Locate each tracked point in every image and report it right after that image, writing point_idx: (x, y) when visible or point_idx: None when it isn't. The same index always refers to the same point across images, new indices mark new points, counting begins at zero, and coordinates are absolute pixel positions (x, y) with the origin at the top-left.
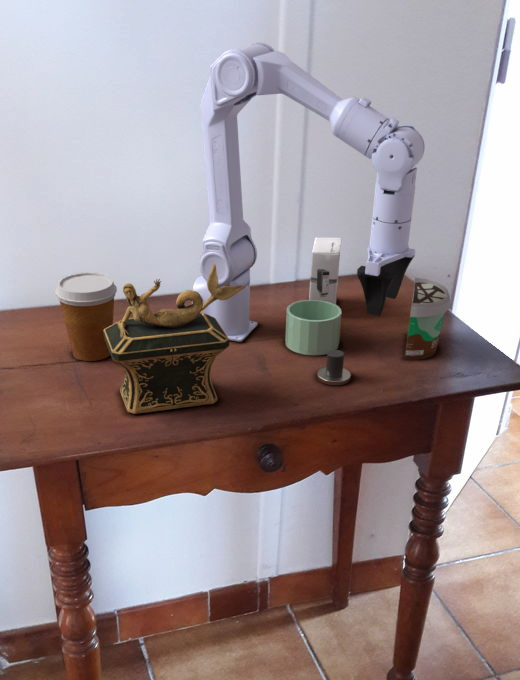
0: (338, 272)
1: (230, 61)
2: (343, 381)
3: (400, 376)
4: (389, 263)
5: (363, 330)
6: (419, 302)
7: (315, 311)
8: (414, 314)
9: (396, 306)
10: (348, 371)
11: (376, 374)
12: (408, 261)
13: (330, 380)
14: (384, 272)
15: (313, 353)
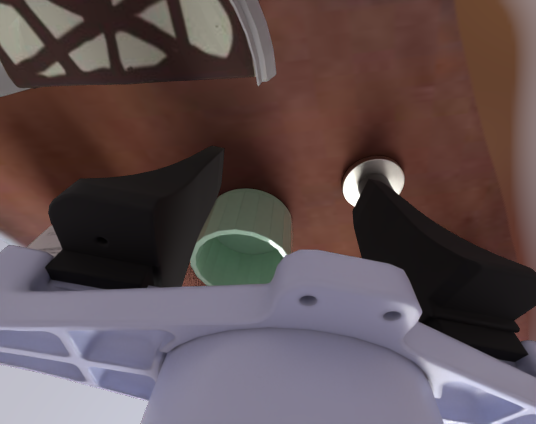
0: (38, 247)
1: None
2: (400, 167)
3: (353, 51)
4: (181, 256)
5: (159, 155)
6: (191, 51)
7: (202, 252)
8: (270, 59)
9: (2, 103)
10: (362, 164)
11: (349, 108)
12: (168, 202)
13: (400, 188)
14: (455, 312)
15: (291, 220)
